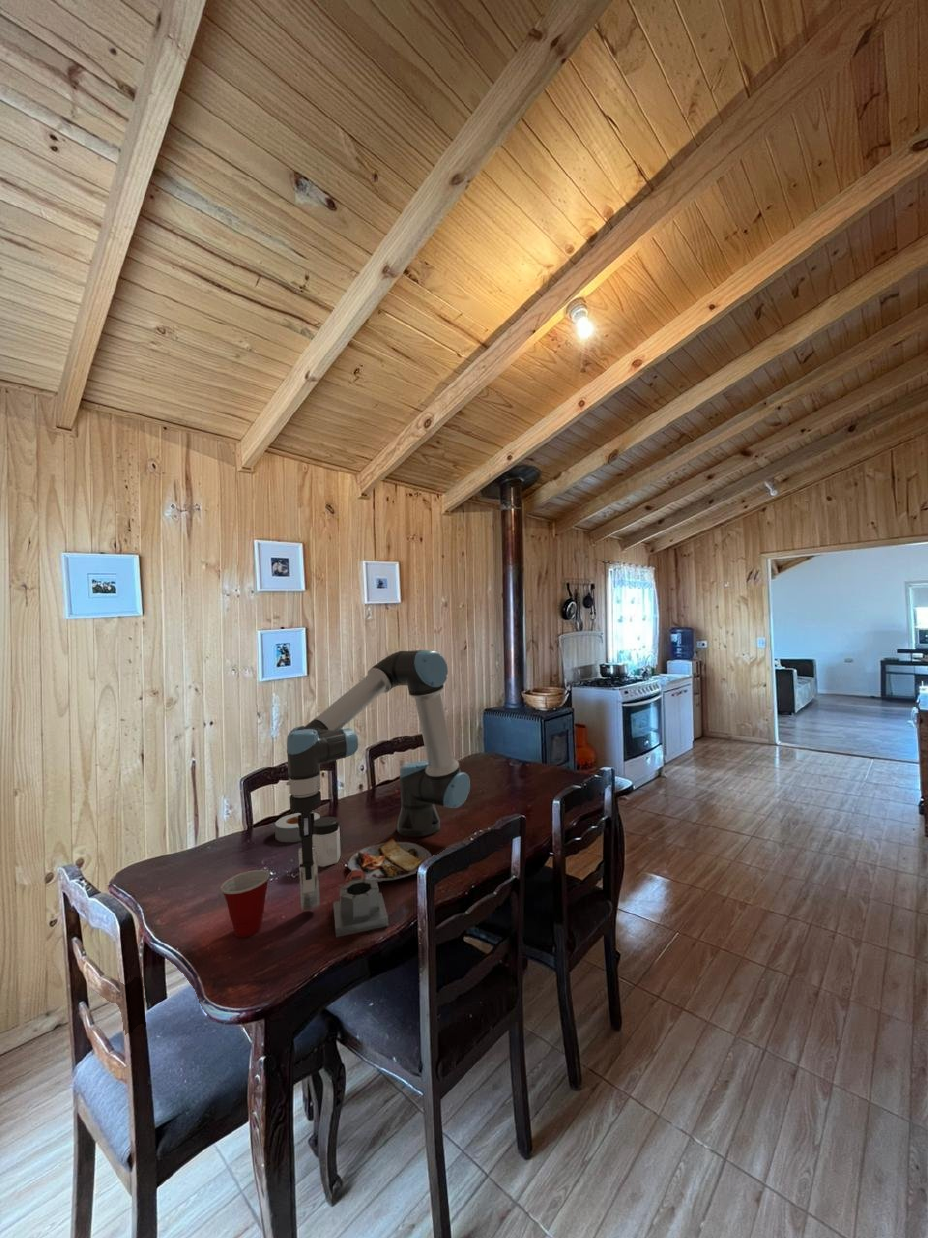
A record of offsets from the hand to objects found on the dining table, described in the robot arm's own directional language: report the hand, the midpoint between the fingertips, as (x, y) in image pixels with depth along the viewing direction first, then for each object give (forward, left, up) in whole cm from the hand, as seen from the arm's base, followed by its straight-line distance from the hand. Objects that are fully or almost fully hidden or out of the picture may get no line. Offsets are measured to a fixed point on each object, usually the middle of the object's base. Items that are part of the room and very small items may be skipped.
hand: (309, 886), depth 122 cm
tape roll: (+4, -56, -7) cm, 56 cm away
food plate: (-23, -18, -7) cm, 30 cm away
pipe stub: (0, 0, -5) cm, 5 cm away
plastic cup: (+14, +2, -7) cm, 16 cm away
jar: (-5, -29, -7) cm, 30 cm away
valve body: (-12, +5, -6) cm, 14 cm away
